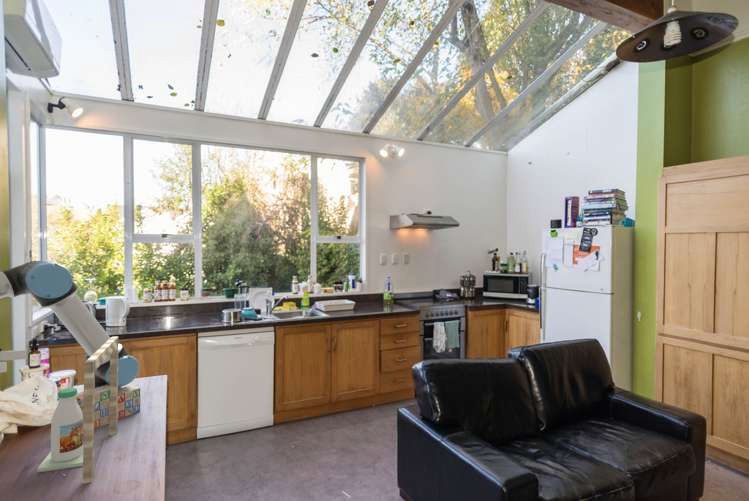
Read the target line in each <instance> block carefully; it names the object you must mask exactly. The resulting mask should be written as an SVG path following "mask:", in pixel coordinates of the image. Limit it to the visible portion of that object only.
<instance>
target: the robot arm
mask: <svg viewBox="0 0 749 501" xmlns="http://www.w3.org/2000/svg"><path fill="white" fill-rule="evenodd" d="M78 290H79V287H78V286H77V285H76V283H75V281H74V279H73V274H72V273H71V271H70V269H68V268H67V267H66V266H65V265H63V264H60V263H58V262H54V261H45V260H33V261H29V262H25V263H23V264H20V265H18V266H14V267H12V268H8V269H5V270H1V271H0V299H3V298H6V297H8V298H15V297H19V296H23V295H28V294H31V296H32V297H33V299H35V300H36V302H38V304H39V305H40V306H41V307H42V308H45V309H46V308H47V309H50V310H51V311H52V312H53V313H54V315H55V316H56V317H57V318H58V320H59V321H60V322H61V323H62V325H63V326H64V327H65V328H66V329H67V330H68V331H69V333H70V335H72V337H73V338H74V339H75V340H76V341H77V343H78V344H79V345H80V346H81V347H82V348H83V350H84V351H85V356H84V359H85V360H84V361H87V360H88V359H89V358H90V357H91V356H92V355H93V354H94V353H95V352H96V351H97V350H98V349H99V348H100V347H101V346H103V345H104V344H105V343H106V342H107V341H108V340H109V339H110V338H111V337H110V335H109V334H108V332H107V331H106V330H105V329H104V327H103V326H102V325H101V324H100V322H99V321H98V320H97V319H96V317H95V316H94V315H93V313H92V312H91V310H90V309H89V308H88V307H87V306H86V304H85V303H84V302H83V300H82V299H81V298H80V297H79V295H78V294H77V292H78ZM27 359H28V349H20V350H19V349H17V350H3V349H2V348H0V373H7V372H8V371H7V369H8V368H7V367H8V366H7V365H8V363H7V361H16V360H18V361H19V360H27ZM139 371H140V363H139V361H138V359H137V358H136V357H135V356H132V355H131V354H130V353H129V352H128V351H127V350H126V348H125V347H124V346H123V344H122V343H118V389H120V388H123V387H126V386H128V385H130V383H132V382H133V381H134V380H135V379H136V377H137V376H138V375H139ZM104 385H110V355H109V356H108V357H107V358H106V359H105V360H104V361H103V363H102V364H101V365H100V366H99V367H98V368H97V369H96V370H95V388H97V387H101V386H104ZM82 392H84V390H82Z"/></svg>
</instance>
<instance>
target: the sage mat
mask: <svg viewBox="0 0 749 501" xmlns="http://www.w3.org/2000/svg"><path fill="white" fill-rule="evenodd" d="M77 467H83V451H82V454H81V455H80V456H78V457H76V458H74V459H72V460H69V461H64V462H54V461H52V460H51V451H50V452H49V453H48V454H47V456H46V457H45V458H44V459H43V461H42V462H41V463H40V465H39V466H38V468H37V470H36V472H37V473H43V472H50V471H56V470H63V469H70V468H77Z"/></svg>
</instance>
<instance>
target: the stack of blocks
mask: <svg viewBox="0 0 749 501" xmlns="http://www.w3.org/2000/svg"><path fill="white" fill-rule="evenodd" d="M141 397H142V396H141V387H138V386H135V385H130V384H129V385H126V386H123V387H122V388H120V389H118V417H117V421H118V420H120V419H123V418H125V417H129V416H132V415H134V414H136V413H139V412H141V399H142V398H141ZM76 400H77V403H78V405H79V406H80V408H81V410H82V414H83V423H84V392H83V391H82V392H79V393H78V392H77V396H76ZM109 409H110V385H104V386H101V387H97V388H95V396H94V430H95V429H97V428H100V427H102V426H105V425H107V424H108V425H109Z"/></svg>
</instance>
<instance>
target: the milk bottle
mask: <svg viewBox="0 0 749 501" xmlns="http://www.w3.org/2000/svg"><path fill="white" fill-rule="evenodd" d="M77 394H78V388H76V387H67V388H63V389H59V391H58V392H57V397H58V398H57V399H58V403H57V406H56V408H55V410H54V412H53V414H52V418H51V425H50V452H51V460H52V461H54V462H64V461H69V460H72V459H74V458H76V457H78V456H80V455H81V454H82V451H83V414H82V410H81V408H80V406H79V405H78V403H77V400H76V396H77Z"/></svg>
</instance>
